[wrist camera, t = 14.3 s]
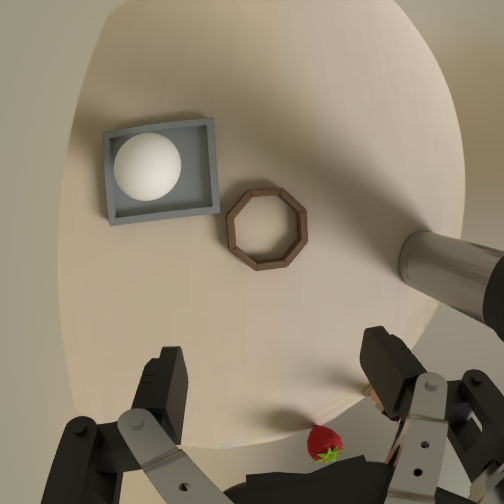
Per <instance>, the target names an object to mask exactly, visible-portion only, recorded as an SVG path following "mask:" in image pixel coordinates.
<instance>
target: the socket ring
mask: <svg viewBox="0 0 504 504" xmlns="http://www.w3.org/2000/svg"><path fill="white" fill-rule="evenodd" d="M269 195H278V196H279V197H280V198H281V199H283V200H284V201H285V202H286V203H287V204H288V205H289V206H290V207H291V208H292V209H294V210H295V211H296V213H297V233H298V239H297V240H296V241H295V242H294V243H293V245H292V246H291V247H290V248H289V249H288V251H287V252H286V253H285V254H284V255H283V257H282V258H280V259H271V260H263V261H254V260H253V259H252V258H250V257H249V256H248V255H247V254H246V253H244V252H243V251H242V250H241V249H239V248H238V247H237V246H236V237H235V225H234V218H235V217H236V216H237V215H238V213H239V212H240V211H241V210H242V209H243V207H244V206H245V205H246V204H247V203H248V202H249V200H250V199H251V198H252V197H256V196H269ZM226 225H227V237H228V247H229V249H230V251H231V252H232V253H233V254H235V255H236V256H237V257H238V258H240V259H241V260H242V261H243V262H245V263H246V264H247V265H248V266H250V267H251V268H252V269H253V270H256V271H260V270H268V269H276V268H284V267H286V266H289V264H290V263H291V262H292V261H293V260H294V258H295V257H296V256H297V255H298V254H299V252H300V251H301V250H302V249H303V248H304V246H305V245H306V244H307V242H308V232H307V211H306V209H305V208H304V207H303V206H302V205H301V204H300V203H299V202H298V201H296V200H295V199H294V198H293V197H292V196H291V195H290V194H289V193H288V192H287V191H286V190H285V189H283V188H271V189H256V190H248V191H246V192H245V193H244V194H243V196H242V197H241V198H240V199H239V200H238V201H237V203H236V204H235V205H234V206H233V207H232V209H231V210H230V211H229V212H228V213H227V216H226Z"/></svg>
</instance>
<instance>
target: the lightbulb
mask: <svg viewBox="0 0 504 504" xmlns="http://www.w3.org/2000/svg"><path fill="white" fill-rule="evenodd" d="M180 171H181V159H180V155H179V152H178V150H177V148H176V147H175V145H174V144H173V143H172V142H171V141H170V140H169V139H168V138H166V137H164V136H162V135H159V134H155V133H143V134H139V135H136V136H134V137H132V138H130V139H129V140H128V141H126V142H125V143H124V144H123V146H122V147H121V148H120V150H119V151H118V153H117V156H116V158H115V162H114V175H115V179H116V182H117V184H118V185H119V187H120V188H121V190H122V191H123V192H124V193H125V194H126V195H128V196H129V197H131V198H134V199H136V200H141V201H151V200H155V199H158V198H160V197H162V196H164V195H166V194H167V193H168V192H169V191H170V190H171V189H172V188H173V187H174V186H175V184H176V183H177V181H178V178H179V176H180Z"/></svg>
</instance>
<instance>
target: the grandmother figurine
mask: <svg viewBox="0 0 504 504" xmlns="http://www.w3.org/2000/svg"><path fill="white" fill-rule="evenodd" d="M363 394H364V395H365V396H372V400H373V401H374V402H375V403H376V405H375V406H376V408H377V409H379V411H381V412H382V414H383V415H385V416H387V417H388V415H387V413H386V411H385V409H384V407H383V405H382V404H381V402H380V400H379V398H378V396H377V394H376V393H375V391H374V389H373V387H372V385H370V386H369V387H368V388H367V389H366V390H365V391H364V393H363ZM388 418H389V417H388ZM389 419H390V420H392V421H397V422H398V423H399V420H400V417H399V415H397V416H394V417H391V418H389Z"/></svg>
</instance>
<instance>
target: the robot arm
mask: <svg viewBox="0 0 504 504" xmlns="http://www.w3.org/2000/svg"><path fill="white" fill-rule="evenodd" d="M399 270H400V275H401V278H402V280H403V281H404V282H405V284H407V285H408V286H410V287H412V288H414V289H416V290H418V291H420V292H422V293H424V294H426V295H428V296H430V297H432V298H434V299H436V300H438V301H440V302H442V303H444V304H446V305H448V306H450V307H452V308H454V309H456V310H458V311H459V312H462V313H463V314H465V315H467V316H469V317H471V318H473V319H475V320H477V321H479V322H481V323H483V324H485V325H486V326H488V327H490V328H492V329H493V330H494V331H495V332H496V334H497V335H498V336H499V338H500V339H501V340H502V341H503V342H504V251H501V250H498V249H494V248H490V247H486V246H482V245H478V244H475V243H471V242H467V241H463V240H459V239H455V238H451V237H447V236H443V235H439V234H434V233H430V232H425V231H419V232H417V233H415V234H413V235H412V236H411V237H410V238H409V239H408V240H407V242H406V243H405V245H404V247H403V249H402V251H401V255H400V260H399ZM360 364H361V367H362V369H363V371H364V373H365V375H366V376H367V378H368V380H369V382H370V384H371V385H372V387H373V389H374V391H375V393H376V394H377V396H378V398H379V400H380V402H381V404H382V405H383V407H384V409H385V411H386V413H387V415H388V417H389V418H391V417H394V416H397V415H399V417H400V420H399V423H398V426H397V429H396V432H395V436H394V439H393V442H392V445H391V448H390V451H389V453H388V456H387V458H386V460H385V462H384V463H382V462H371V461H367V462H366V459H365V457H364V455H361V456H357V457H353V458H350V459H345V460H342V461H337V462H335V463H333V464H330V465H328V466H326V467H324V468H321V469H319V470H317V471H314V472H312V473H308V474H300V473H282V472H272V473H262V474H250V475H246V482H243V483H240V484H237V485H235V486H232V487H231V488H229V489H227V490H225V491H224V492H221V490H220V489H219V488H218V487H217V486H216V485H215V484H214V483H213V482H212V481H211V480H210V479H209V478H208V477H207V476H206V475H205V474H204V473H203V472H202V471H201V470H200V469H199V468H198V467H197V465H196V464H195V463H194V462H193V461H192V460H191V459H190V457H189V456H188V455H187V454H186V453H185V452H184V451H183V450H182V449H178V448H177V446H176V445H181V437H182V429H183V421H184V413H185V405H186V398H187V390H188V374H187V370H186V366H185V362H184V357H183V353H182V349H181V347H180V346H175V347H163V348H162V350H161V354H160V357H159V358H152V359H151V360H150V361H149V362H148V363H147V364H146V365H145V367H144V370H143V373H142V376H141V379H140V383H139V385H138V388H137V391H136V394H135V398H134V401H133V404H132V407H131V409H130V410H128V411H126V412H124V413H123V414H122V415H121V416H120V417H119V419H118V421H116V422H112V423H105V424H98V425H97V424H96V423H95V421H94V420H93V419H91V418H89V417H86V416H79V417H76V418H74V419H72V420H71V421H69V422H68V423H67V425H66V427H65V430H64V432H63V435H62V438H61V440H60V443H59V446H58V449H57V451H56V455H55V457H54V460H53V463H52V466H51V470H50V473H49V476H48V479H47V483H46V487H45V490H44V494H43V497H42V501H41V504H119V499H120V492H121V484H122V478H123V472H127V471H133V470H140V469H143V471H144V473H145V474H146V476H147V477H148V478H149V480H150V481H151V483H152V484H153V485H154V487H155V488H156V490H157V491H158V492H159V494H160V495H161V496H162V497H163V499H164V500H165V502H166V503H167V504H504V396H503V395H502V393H501V392H500V391H499V390H498V388H497V387H496V386H495V385H494V383H493V382H492V381H491V380H490V378H489V377H488V376H487V375H486V374H485V373H484V372H482V371H480V370H475V369H474V370H473V369H472V370H468V371H466V372H465V374H464V375H463V377H462V379H461V380H456V381H446V380H445V378H444V377H442V376H441V375H439V374H437V373H432V372H427V371H426V370H425V368H424V367H423V366H422V364H421V363H420V362H419V361H418V359H417V358H416V357H415V356H414V354H412V352H411V351H410V349H409V348H407V346H406V344H405V343H404V342H403V341H402V340H401V339H400V338H398V337H396V336H395V335H393V334H392V335H389V333H388V332H387V331H386V330H385V328H384V327H383V326H376V327H371V328H366V329H365V331H364V336H363V341H362V347H361V352H360ZM473 413H474V414H475V415H476V417H477V418H478V420H479V421H480V423H481V425H482V432H481V430H480V429H479V427H478V426H477V424H476V422H475V421H474V420H473V418H472V415H473ZM447 437H448V439H449V440H450V442H451V444H452V446H453V448H454V450H455V452H456V453H457V455H458V457H459V459H460V461H461V463H462V465H463V467H464V469H465V471H466V473H467V475H468V477H469V479H470V481H471V483H472V484H471V486H470V495H469V497H468V499H467V498H464V497H462V496H459V495H456V494H454V493H451V492H449V491H446V490H444V489H442V488H439V487H437V483H438V479H439V474H440V470H441V465H442V461H443V456H444V450H445V444H446V438H447Z"/></svg>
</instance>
